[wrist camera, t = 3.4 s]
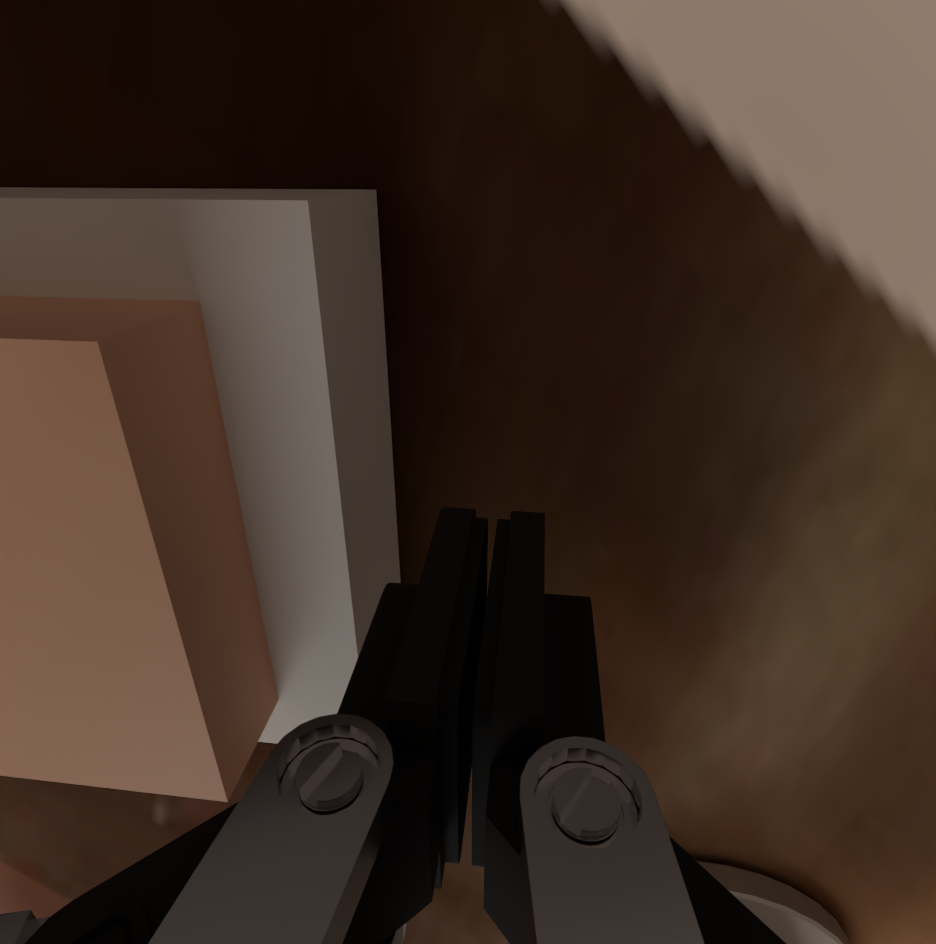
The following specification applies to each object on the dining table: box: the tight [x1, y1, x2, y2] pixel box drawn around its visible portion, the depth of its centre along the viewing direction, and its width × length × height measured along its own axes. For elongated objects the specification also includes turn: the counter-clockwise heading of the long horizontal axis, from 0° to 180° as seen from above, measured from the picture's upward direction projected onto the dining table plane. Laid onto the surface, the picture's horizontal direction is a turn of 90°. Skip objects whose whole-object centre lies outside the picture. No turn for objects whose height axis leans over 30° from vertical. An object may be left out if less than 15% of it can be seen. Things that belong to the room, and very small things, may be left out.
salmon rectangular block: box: [0, 296, 279, 802], centre depth 11 cm, size 9×6×2 cm, turn 0°
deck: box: [0, 187, 401, 744], centre depth 14 cm, size 12×12×4 cm
